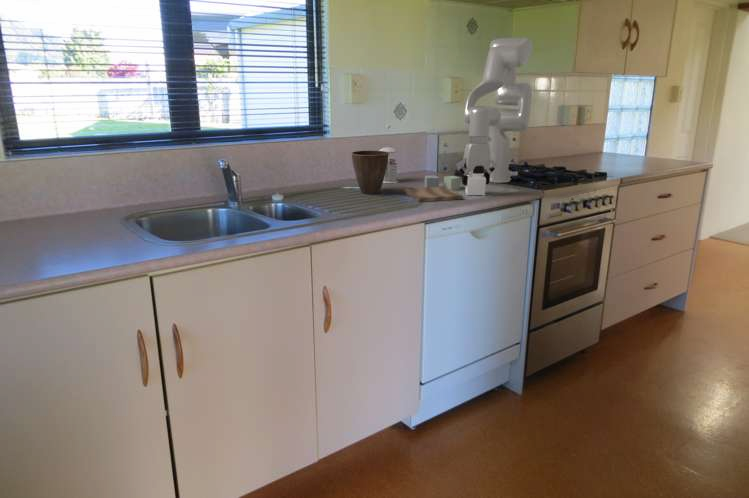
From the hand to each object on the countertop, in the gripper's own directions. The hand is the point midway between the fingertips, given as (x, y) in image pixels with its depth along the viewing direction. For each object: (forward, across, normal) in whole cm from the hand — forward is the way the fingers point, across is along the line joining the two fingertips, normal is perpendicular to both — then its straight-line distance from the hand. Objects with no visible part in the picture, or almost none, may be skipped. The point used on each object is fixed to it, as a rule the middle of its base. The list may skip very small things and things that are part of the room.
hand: (475, 184), depth 209 cm
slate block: (+4, +13, -15) cm, 20 cm away
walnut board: (+4, +18, -1) cm, 18 cm away
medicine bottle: (+4, 0, 0) cm, 4 cm away
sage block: (+4, +5, -12) cm, 14 cm away
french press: (+4, +27, -33) cm, 43 cm away
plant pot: (+4, +40, -14) cm, 42 cm away
